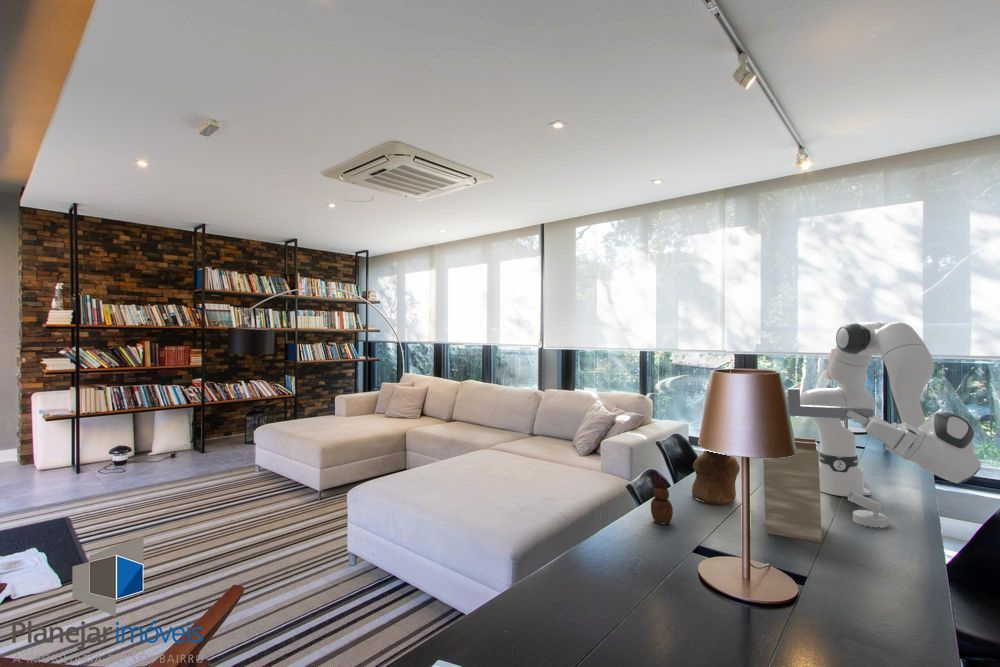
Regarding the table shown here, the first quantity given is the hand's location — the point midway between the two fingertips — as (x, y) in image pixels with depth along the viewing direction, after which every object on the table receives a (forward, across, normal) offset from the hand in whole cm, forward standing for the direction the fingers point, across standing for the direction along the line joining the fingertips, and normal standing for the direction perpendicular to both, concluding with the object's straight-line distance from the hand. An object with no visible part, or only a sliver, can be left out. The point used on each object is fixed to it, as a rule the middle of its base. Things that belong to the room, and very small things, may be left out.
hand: (846, 411), depth 136 cm
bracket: (+3, 0, +4) cm, 5 cm away
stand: (-6, -3, +39) cm, 40 cm away
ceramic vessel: (+13, -19, +51) cm, 56 cm away
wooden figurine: (+25, +10, +58) cm, 63 cm away
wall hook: (-24, -20, +30) cm, 43 cm away
